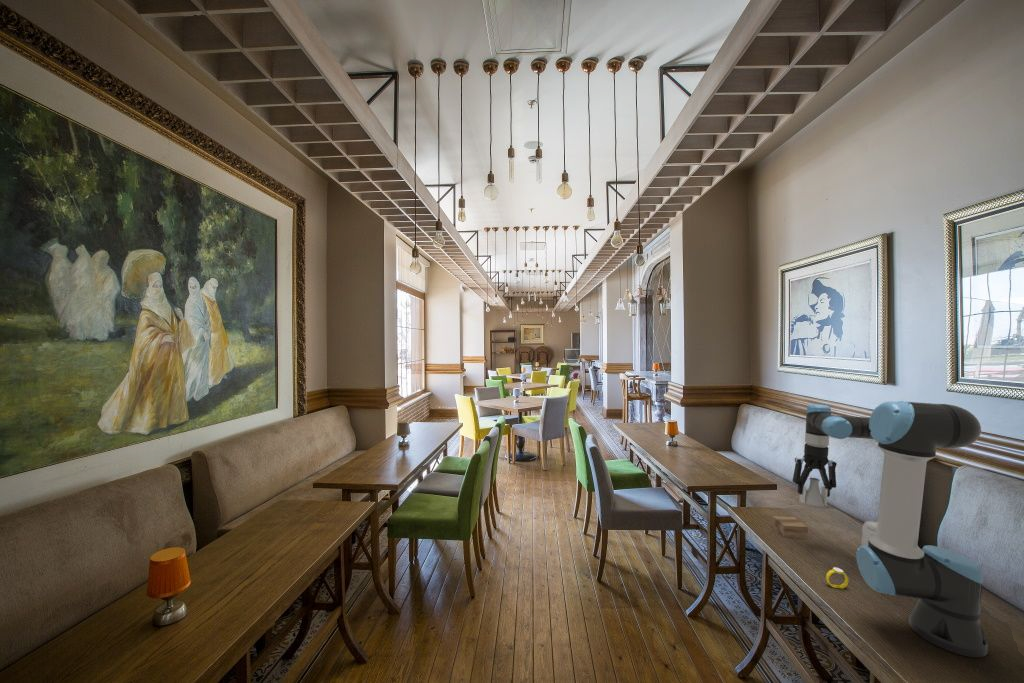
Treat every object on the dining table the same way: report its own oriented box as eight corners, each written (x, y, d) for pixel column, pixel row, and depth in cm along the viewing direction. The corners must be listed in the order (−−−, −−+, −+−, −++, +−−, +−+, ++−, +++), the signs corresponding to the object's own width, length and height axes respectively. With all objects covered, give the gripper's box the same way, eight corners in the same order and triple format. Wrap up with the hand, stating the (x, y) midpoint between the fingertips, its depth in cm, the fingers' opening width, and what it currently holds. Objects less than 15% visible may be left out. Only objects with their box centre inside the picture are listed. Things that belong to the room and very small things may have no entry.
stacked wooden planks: (807, 539, 171) (807, 527, 171) (783, 537, 172) (784, 525, 172) (793, 528, 180) (794, 517, 180) (771, 527, 181) (772, 515, 181)
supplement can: (892, 576, 147) (895, 533, 146) (862, 568, 151) (864, 526, 150) (887, 565, 154) (890, 524, 153) (858, 557, 158) (860, 518, 157)
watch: (843, 586, 140) (846, 569, 140) (848, 591, 137) (851, 573, 137) (823, 582, 141) (826, 565, 141) (828, 587, 138) (830, 570, 138)
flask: (803, 505, 163) (804, 479, 162) (800, 499, 169) (802, 474, 169) (826, 510, 159) (827, 483, 159) (822, 503, 166) (824, 478, 166)
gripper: (839, 444, 166) (835, 502, 167) (783, 440, 169) (780, 497, 170) (851, 449, 158) (847, 510, 159) (793, 445, 162) (789, 504, 162)
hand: (812, 503), depth 164 cm, fingers closed on flask, 7 cm apart
